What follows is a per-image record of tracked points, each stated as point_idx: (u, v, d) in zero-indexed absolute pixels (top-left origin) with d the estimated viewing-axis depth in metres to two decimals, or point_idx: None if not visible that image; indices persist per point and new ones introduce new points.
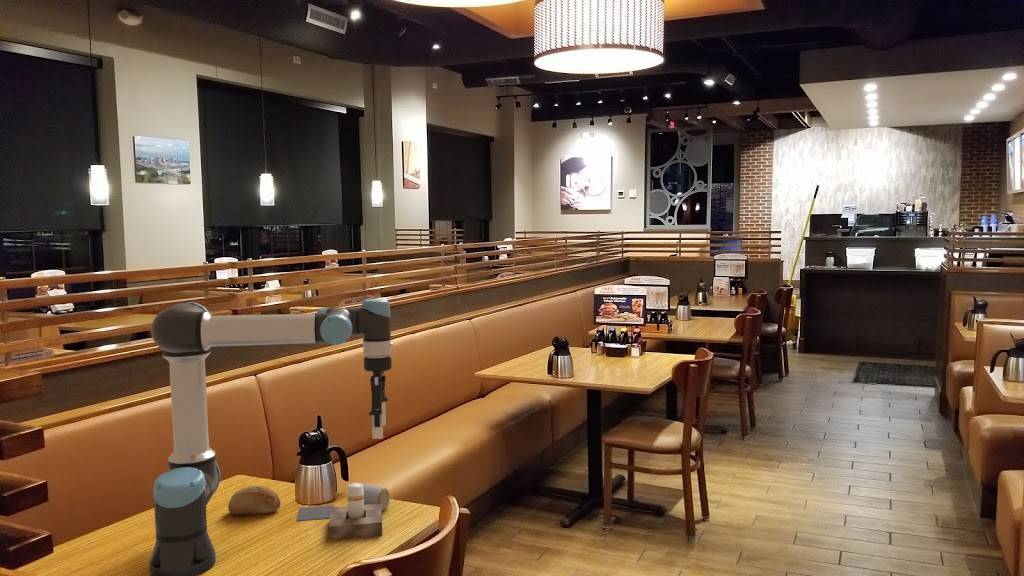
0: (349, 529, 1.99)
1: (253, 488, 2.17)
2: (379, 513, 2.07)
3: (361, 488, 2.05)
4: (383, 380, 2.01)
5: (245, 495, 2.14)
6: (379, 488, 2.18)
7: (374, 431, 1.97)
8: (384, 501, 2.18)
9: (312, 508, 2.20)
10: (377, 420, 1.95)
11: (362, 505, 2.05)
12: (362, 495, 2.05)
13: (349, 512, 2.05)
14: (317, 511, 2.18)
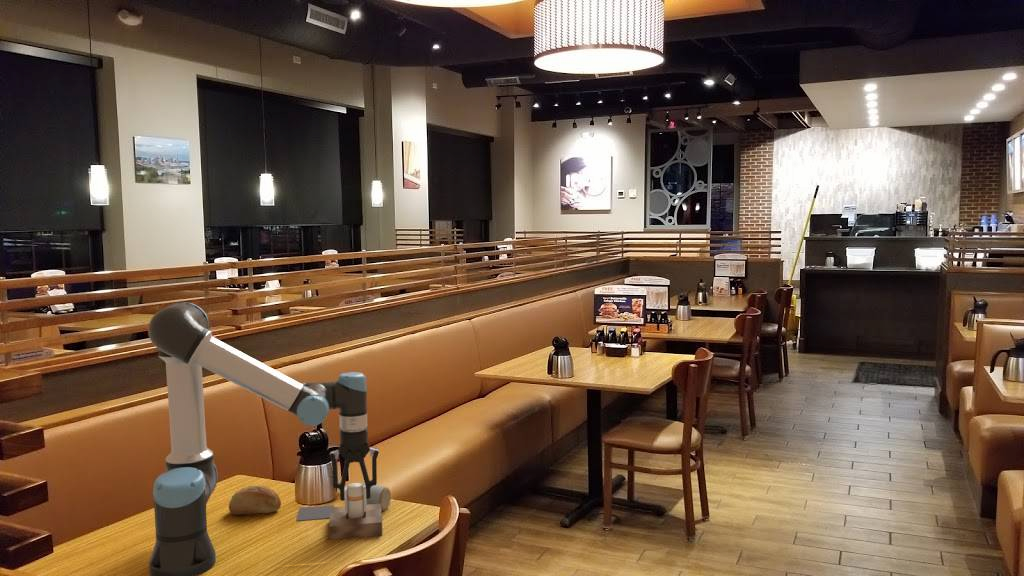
0: (349, 529, 1.99)
1: (253, 488, 2.17)
2: (379, 513, 2.07)
3: (361, 488, 2.05)
4: (346, 455, 2.03)
5: (245, 495, 2.14)
6: (380, 487, 2.19)
7: None
8: (385, 500, 2.19)
9: (312, 508, 2.20)
10: None
11: (362, 505, 2.05)
12: (362, 495, 2.05)
13: (349, 512, 2.05)
14: (317, 511, 2.18)
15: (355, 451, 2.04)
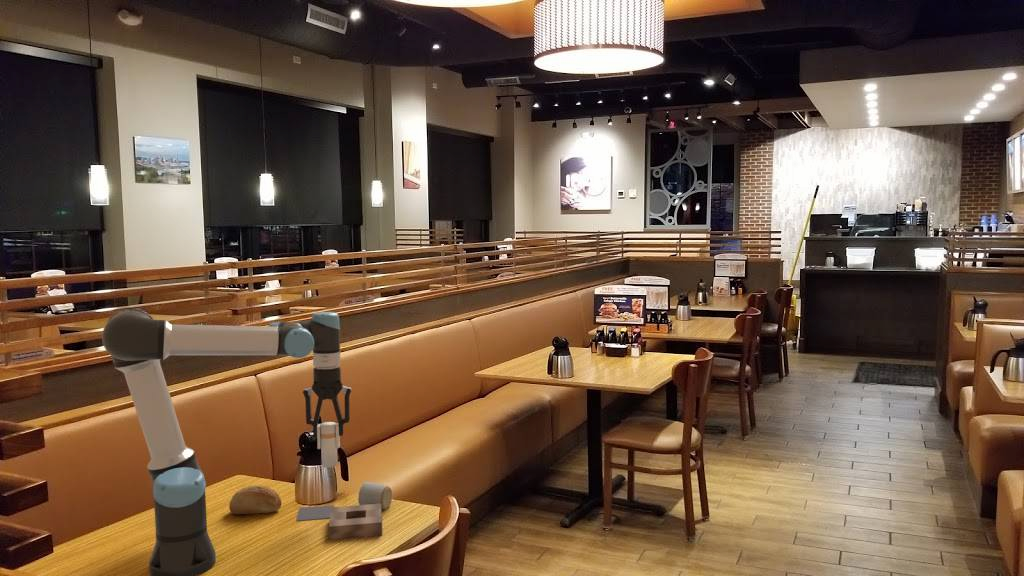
0: (349, 529, 1.99)
1: (254, 488, 2.17)
2: (379, 513, 2.07)
3: (333, 426, 2.09)
4: (319, 392, 2.08)
5: (246, 495, 2.14)
6: (382, 486, 2.20)
7: None
8: (387, 499, 2.20)
9: (312, 508, 2.20)
10: None
11: (335, 443, 2.10)
12: (335, 433, 2.10)
13: (322, 449, 2.10)
14: (317, 511, 2.18)
15: (328, 388, 2.09)
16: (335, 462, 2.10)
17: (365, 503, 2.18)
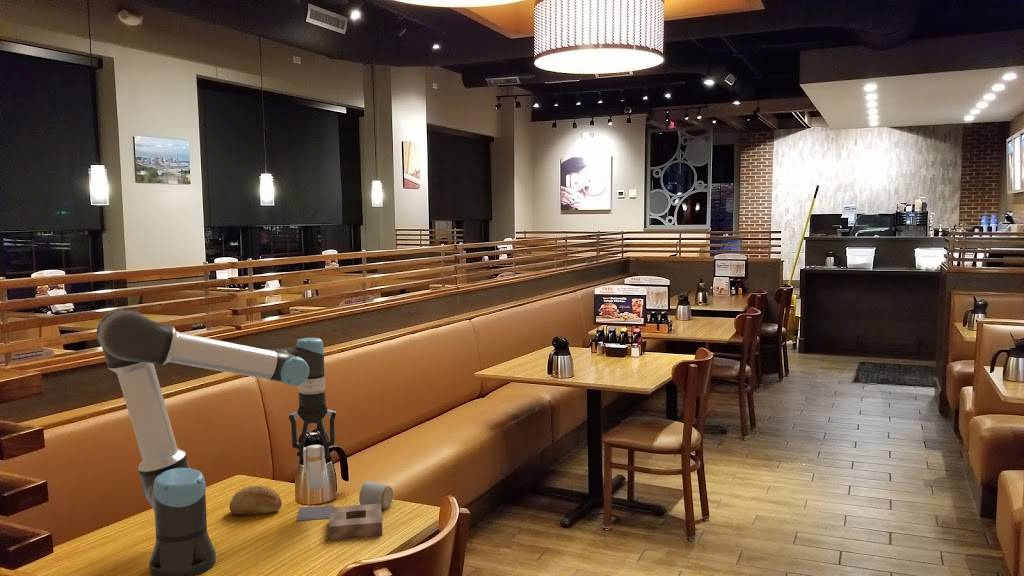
0: (349, 529, 1.99)
1: (254, 488, 2.18)
2: (379, 513, 2.07)
3: (319, 449, 2.15)
4: (305, 416, 2.13)
5: (246, 495, 2.15)
6: (383, 486, 2.20)
7: None
8: (387, 499, 2.20)
9: (312, 508, 2.20)
10: None
11: (321, 465, 2.15)
12: (320, 456, 2.15)
13: (308, 472, 2.15)
14: (317, 511, 2.18)
15: (313, 413, 2.14)
16: (321, 484, 2.16)
17: (366, 502, 2.19)
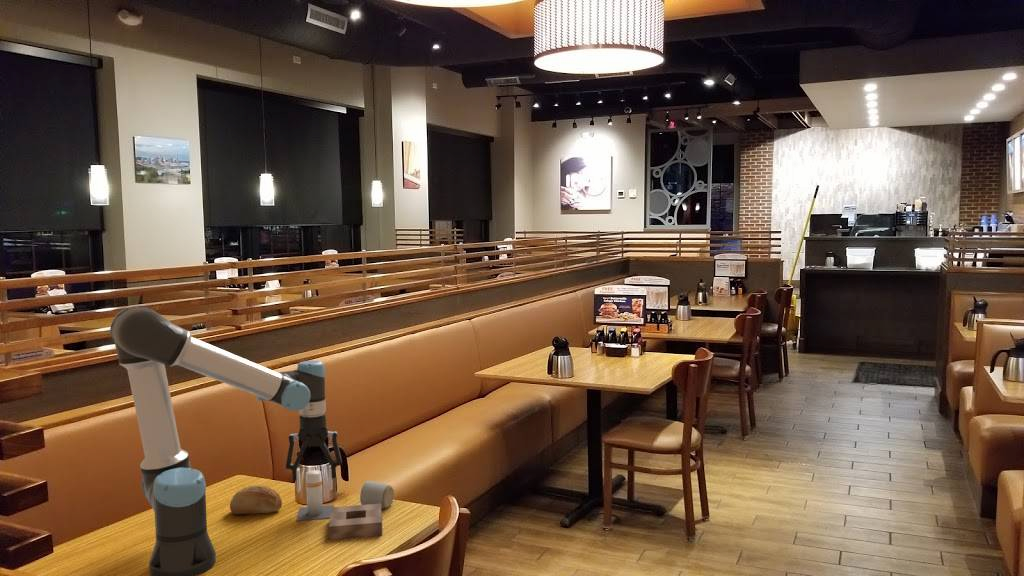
0: (349, 529, 1.99)
1: (254, 488, 2.18)
2: (379, 513, 2.07)
3: (319, 475, 2.15)
4: (305, 438, 2.13)
5: (246, 495, 2.15)
6: (383, 485, 2.21)
7: None
8: (388, 498, 2.21)
9: None
10: None
11: (320, 491, 2.16)
12: (320, 482, 2.16)
13: (308, 498, 2.15)
14: None
15: (314, 436, 2.14)
16: (320, 510, 2.16)
17: (367, 502, 2.19)
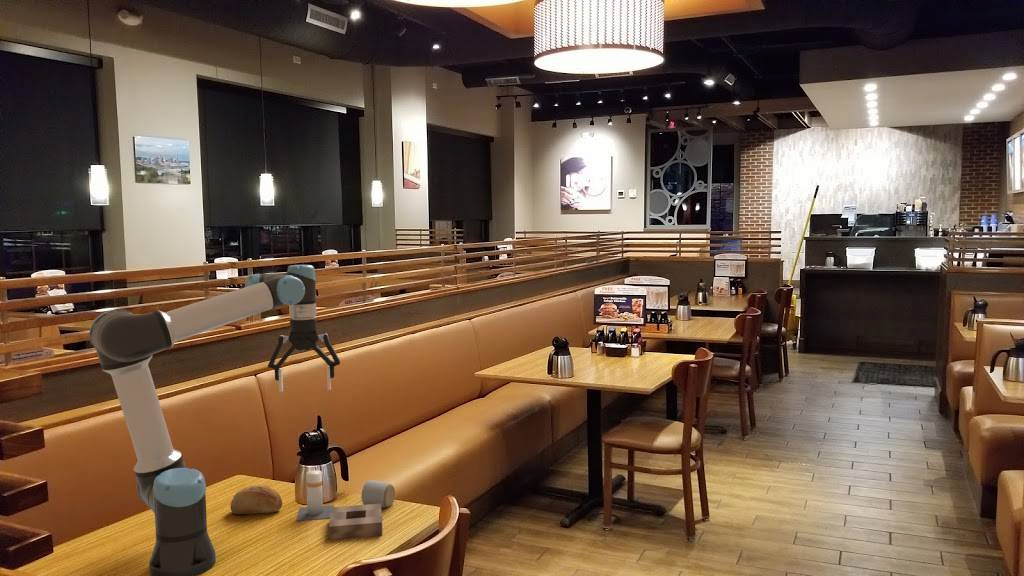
0: (349, 529, 1.99)
1: (255, 488, 2.18)
2: (379, 513, 2.07)
3: (319, 475, 2.15)
4: (295, 341, 2.12)
5: (247, 495, 2.15)
6: (385, 484, 2.21)
7: None
8: (390, 497, 2.22)
9: None
10: None
11: (320, 491, 2.16)
12: (320, 482, 2.16)
13: (308, 498, 2.15)
14: None
15: (304, 341, 2.13)
16: (320, 510, 2.16)
17: (368, 501, 2.20)
